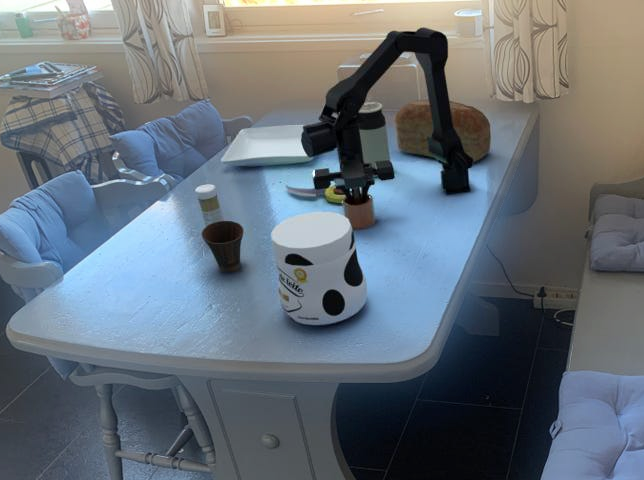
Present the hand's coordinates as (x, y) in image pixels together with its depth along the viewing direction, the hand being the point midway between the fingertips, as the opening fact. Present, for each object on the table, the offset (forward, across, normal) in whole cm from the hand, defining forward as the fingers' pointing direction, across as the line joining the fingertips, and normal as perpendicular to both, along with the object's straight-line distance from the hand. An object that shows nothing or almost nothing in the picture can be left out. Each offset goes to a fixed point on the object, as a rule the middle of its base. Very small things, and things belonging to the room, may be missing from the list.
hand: (358, 208), depth 182 cm
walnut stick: (+2, 0, 0) cm, 3 cm away
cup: (+4, -30, -15) cm, 34 cm away
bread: (+4, +27, +37) cm, 46 cm away
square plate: (+4, -20, +55) cm, 59 cm away
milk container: (+4, -10, -38) cm, 39 cm away
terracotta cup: (+4, 0, 0) cm, 4 cm away
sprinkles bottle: (+4, -34, +1) cm, 34 cm away
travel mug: (+4, +7, +30) cm, 31 cm away
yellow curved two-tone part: (+4, -8, +18) cm, 20 cm away
